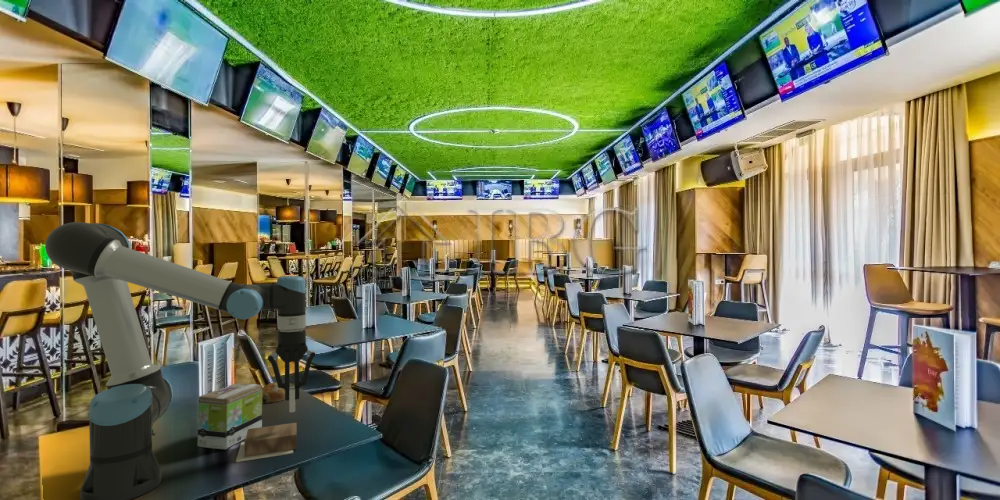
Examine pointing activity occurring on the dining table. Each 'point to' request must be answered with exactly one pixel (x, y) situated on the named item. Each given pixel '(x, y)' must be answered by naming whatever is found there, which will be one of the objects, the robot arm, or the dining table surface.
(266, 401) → the bread roll
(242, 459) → the mat
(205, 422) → the tea box
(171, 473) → the dining table surface
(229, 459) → the dining table surface
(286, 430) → the slab
